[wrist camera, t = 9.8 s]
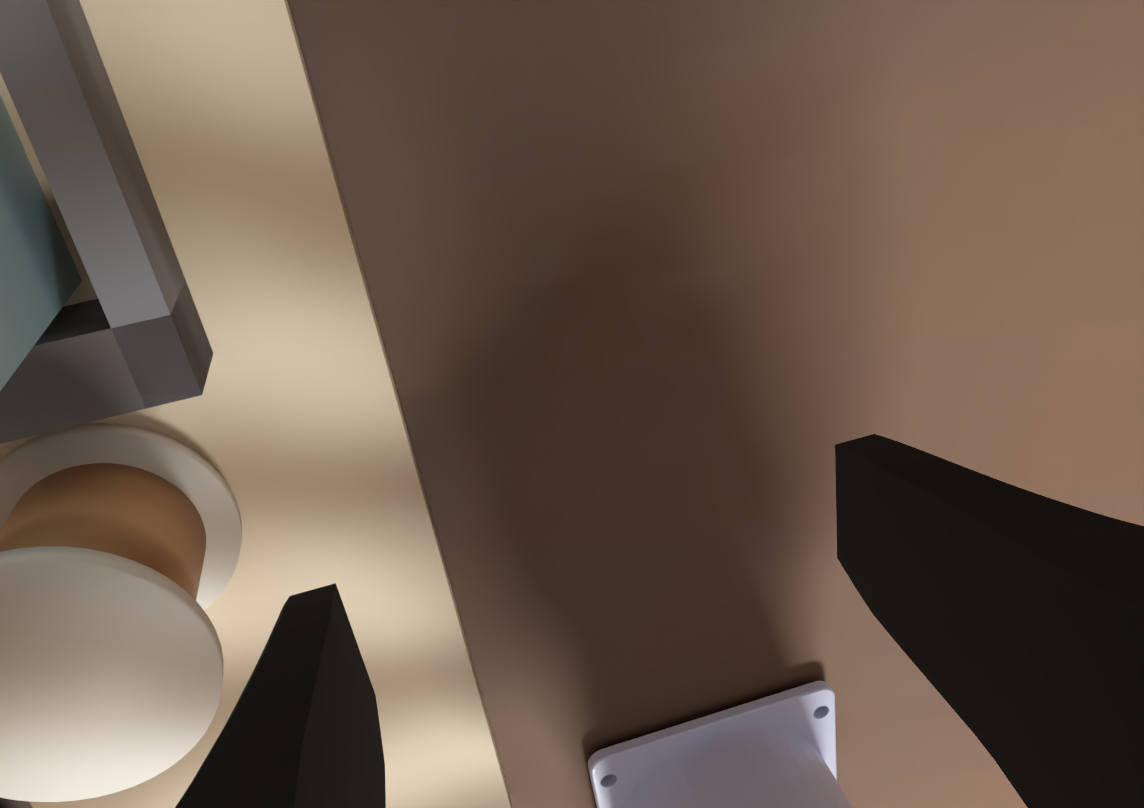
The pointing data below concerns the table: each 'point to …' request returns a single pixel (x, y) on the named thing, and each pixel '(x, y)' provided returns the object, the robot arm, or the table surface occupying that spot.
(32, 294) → the pale blue block
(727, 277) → the table surface
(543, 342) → the table surface
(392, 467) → the winding board
